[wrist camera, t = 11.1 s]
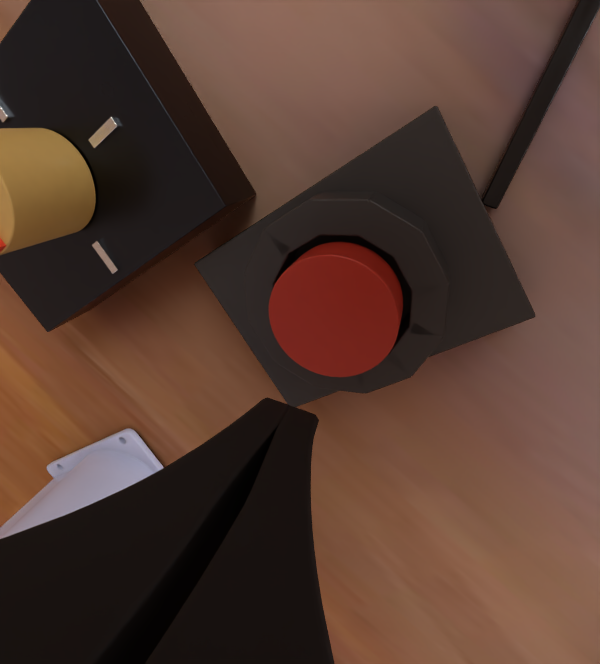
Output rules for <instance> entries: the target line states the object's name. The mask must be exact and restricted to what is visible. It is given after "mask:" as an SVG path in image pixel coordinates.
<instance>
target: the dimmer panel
mask: <svg viewBox="0 0 600 664" xmlns="http://www.w3.org/2000/svg"><path fill="white" fill-rule="evenodd" d="M0 128H44V129H48V130H51V131H54V132H56V133H58V134H60V135H61V136H63V137H64V138H66V139H67V140H68V141H69V142H70V143H71V144H72V145H73V146H74V147H75V148H76V149H77V150H78V151H79V153H80V154H81V155H82V157H83V158H84V160H85V162H86V164H87V166H88V167H89V170H90V172H91V175H92V178H93V181H94V186H95V194H96V203H95V209H94V213H93V215H92V218H91V220H90V221H89V223H88V224H87V225H86V226H85V227H84V228H83V229H81V230H80V231H78V232H75V233H72V234H69V235H66V236H62V237H59V238H56V239H52V240H49V241H46V242H42V243H39V244H36V245H32V246H29V247H26V248H22V249H19V250H16V251H12V252H9V253H6V254H2V255H0V273H1V274H2V276H3V277H4V278H5V279H6V281H7V282H8V283H9V284H10V286H11V287H12V288H13V289H14V291H15V292H16V293H17V294H18V296H19V297H20V298H21V299H22V301H23V302H24V303H25V304H26V306H27V307H28V308H29V309H30V311H31V312H32V313H33V315H34V316H35V317H36V318H37V320H38V321H39V322H40V323H41V325H42V326H43V327H44V328H45V330H46V331H47V332H49V331H51V330H53V329H55V328H57V327H59V326H61V325H62V324H64V323H66V322H68V321H70V320H72V319H74V318H76V317H77V316H79V315H81V314H83V313H85V312H87V311H89V310H91V309H92V308H93V307H95V306H96V305H98V304H99V303H101V302H102V301H104V300H105V299H106V298H108V297H109V296H111V295H112V294H114V293H115V292H117V291H118V290H119V289H121V288H122V287H124V286H125V285H127V284H128V283H130V282H131V281H133V280H134V279H135V278H137V277H138V276H140V275H141V274H143V273H144V272H146V271H147V270H148V269H150V268H151V267H153V266H154V265H156V264H157V263H159V262H160V261H161V260H163V259H164V258H166V257H167V256H169V255H170V254H172V253H173V252H174V251H176V250H177V249H179V248H180V247H182V246H183V245H185V244H186V243H187V242H189V241H190V240H192V239H193V238H195V237H196V236H198V235H199V234H200V233H202V232H203V231H205V230H206V229H208V228H209V227H211V226H212V225H213V224H215V223H216V222H218V221H219V220H221V219H222V218H224V217H225V216H226V215H228V214H229V213H231V212H232V211H234V210H235V209H237V208H238V207H239V206H241V205H242V204H244V203H245V202H247V201H248V200H250V199H251V198H252V197H254V196H255V195H256V193H255V191H254V189H253V188H252V186H251V184H250V183H249V181H248V179H247V178H246V176H245V174H244V173H243V171H242V169H241V168H240V166H239V164H238V163H237V161H236V159H235V158H234V156H233V155H232V153H231V151H230V150H229V148H228V146H227V145H226V143H225V141H224V140H223V138H222V136H221V135H220V133H219V131H218V130H217V128H216V126H215V125H214V123H213V121H212V120H211V118H210V116H209V115H208V113H207V111H206V110H205V108H204V106H203V105H202V103H201V102H200V100H199V98H198V97H197V95H196V93H195V92H194V90H193V88H192V87H191V85H190V83H189V82H188V80H187V78H186V77H185V75H184V73H183V72H182V70H181V68H180V67H179V65H178V63H177V62H176V60H175V58H174V57H173V55H172V53H171V52H170V50H169V49H168V47H167V45H166V44H165V42H164V40H163V39H162V37H161V35H160V34H159V32H158V30H157V29H156V27H155V25H154V24H153V22H152V20H151V19H150V17H149V15H148V14H147V12H146V10H145V9H144V7H143V5H142V4H141V2H140V0H31V1H30V2H29V3H28V5H27V6H26V8H25V9H24V10H23V12H22V13H21V15H20V16H19V18H18V19H17V20H16V22H15V23H14V25H13V26H12V27H11V29H10V30H9V32H8V33H7V34H6V36H5V37H4V39H3V40H2V41H1V43H0Z"/></svg>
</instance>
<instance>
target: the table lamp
mask: <svg viewBox="0 0 600 664" xmlns="http://www.w3.org/2000/svg"><path fill="white" fill-rule="evenodd" d="M599 8H600V0H578V1H577V3H576V5H575V7H574V9H573V11H572V13H571V15H570V17H569V19H568V21H567V23H566V25H565V27H564V30H563V32H562V34H561V36H560V38H559V40H558V42H557V44H556V46H555V48H554V50H553V52H552V54H551V56H550V58H549V60H548V62H547V64H546V67H545V69H544V71H543V73H542V75H541V77H540V79H539V81H538V83H537V85H536V87H535V89H534V91H533V93H532V95H531V97H530V99H529V101H528V104H527V106H526V108H525V110H524V112H523V114H522V116H521V118H520V120H519V122H518V124H517V126H516V128H515V130H514V132H513V134H512V136H511V139H510V141H509V143H508V145H507V147H506V149H505V151H504V153H503V155H502V157H501V159H500V161H499V163H498V165H497V167H496V169H495V171H494V173H493V176H492V178H491V180H490V182H489V184H488V186H487V188H486V190H485V192H484V194H483V196H482V198H481V200H482V202H483V204H484V205H486V206H489V207H492V208H495V209H497V208H498V206H499V204H500V202H501V200H502V198H503V196H504V194H505V192H506V190H507V188H508V186H509V184H510V183H511V181H512V179H513V177H514V175H515V173H516V171H517V169H518V167H519V165H520V163H521V161H522V159H523V157H524V155H525V153H526V151H527V149H528V147H529V145H530V143H531V141H532V139H533V138H534V136H535V134H536V132H537V130H538V128H539V126H540V124H541V122H542V120H543V118H544V116H545V114H546V112H547V110H548V108H549V106H550V104H551V102H552V100H553V98H554V96H555V94H556V92H557V91H558V89H559V87H560V85H561V83H562V81H563V79H564V77H565V75H566V73H567V71H568V69H569V67H570V65H571V63H572V61H573V59H574V57H575V55H576V53H577V51H578V49H579V47H580V46H581V44H582V42H583V40H584V38H585V36H586V34H587V32H588V30H589V28H590V26H591V24H592V22H593V20H594V18H595V16H596V14H597V12H598V10H599Z"/></svg>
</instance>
